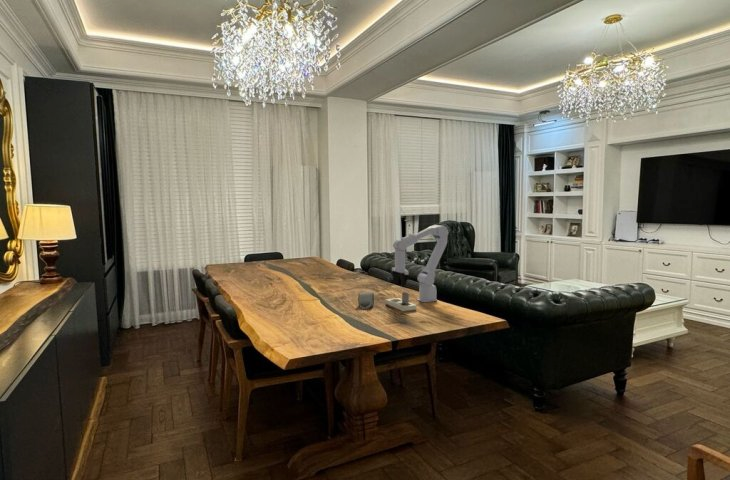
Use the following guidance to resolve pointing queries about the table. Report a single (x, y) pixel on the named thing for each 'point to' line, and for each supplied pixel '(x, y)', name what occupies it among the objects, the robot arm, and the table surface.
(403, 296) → the pin
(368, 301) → the ceramic mug
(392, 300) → the board
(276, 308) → the table surface
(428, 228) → the robot arm
